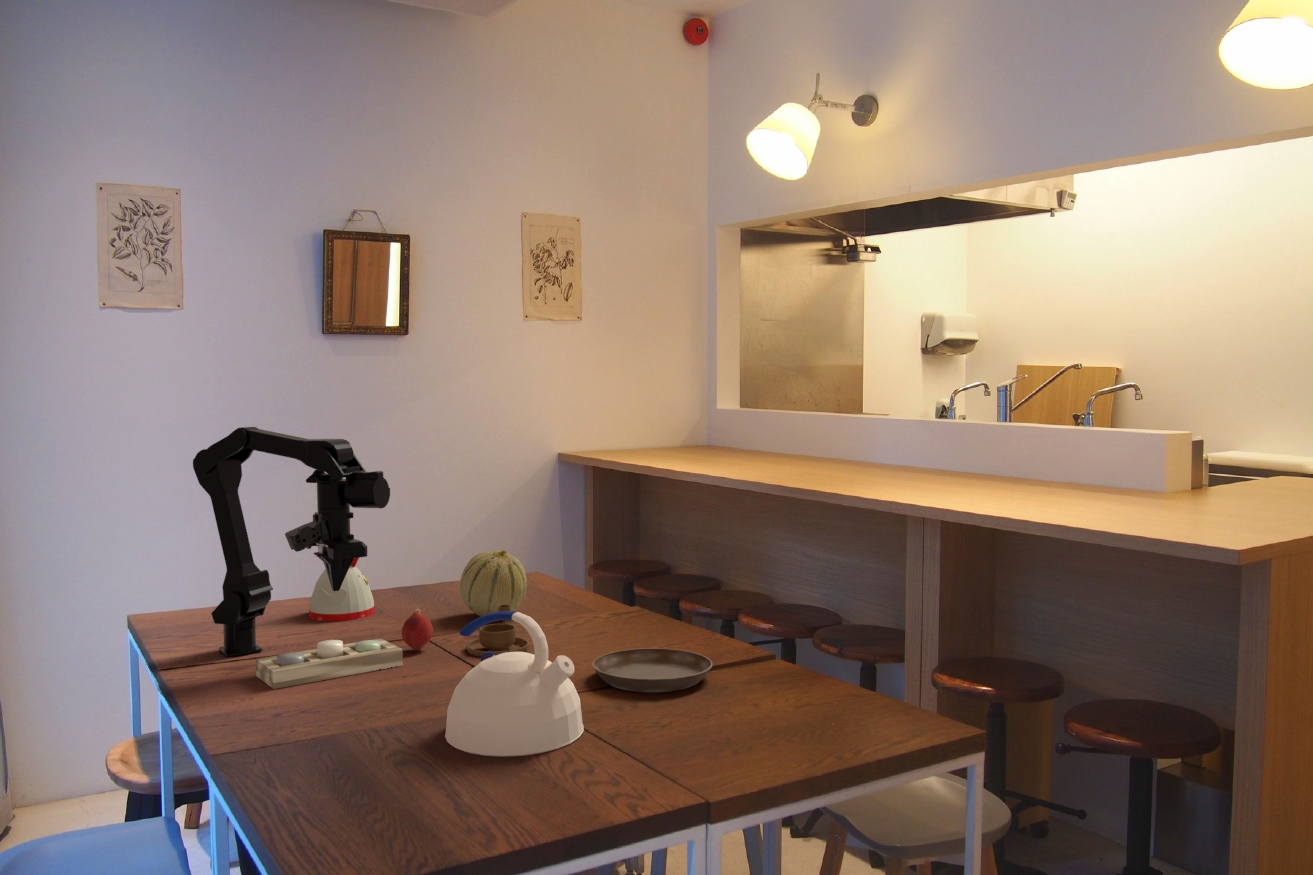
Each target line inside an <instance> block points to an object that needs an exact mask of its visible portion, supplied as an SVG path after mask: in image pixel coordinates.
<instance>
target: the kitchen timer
mask: <svg viewBox="0 0 1313 875" xmlns="http://www.w3.org/2000/svg"><path fill="white" fill-rule="evenodd" d="M359 560H360V557H359V558H354V559H353V561H352V563H351V565H350V567H349V569H348V572H347V574H346V576H345V578H344V581H343V583H342V585H341V588H340V590H339V591H333V590H332V588H331V584H330V581H329V578H328V574H327V571H326V569H324V570H323V571H322V573H321V574H320V576H319V577H318V579H317V581H316V583H315V584H314V589H313V591H312V594H311V598H310V602H309V608H308V610H309V611H308V613H309V615H308V616H309V617H308V618H310V619H311V620H313V619H314V621H318V622H319V621H320V622H345V621H346V622H347V621H353V620H354V619H355V620H359V619H358V618H361V619H364V617H365V618H368V617H370V616H369V615H371V616H373V615H374V614H375V600H374V597H373V593H372V590H371V588H370V584H369V582H368V581H367V578H366V577H365V575H364V574H363V572H361V570H360V569H359V568H358V567H357V564H358V561H359ZM373 613H374V614H373ZM367 616H368V617H367ZM355 620H354V621H355Z"/></svg>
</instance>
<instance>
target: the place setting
mask: <svg viewBox="0 0 1313 875" xmlns="http://www.w3.org/2000/svg"><path fill="white" fill-rule="evenodd" d="M503 611H511V607H510V605H500V606H499V612H503ZM478 631H479V632H478V634H479V635H478V638H479V639H478V638H477V639H476V638H475V639H472V640H471V641H468V642H467V643H466V644H465V646H466V647H465V649H466V651H467V652H468V653H469V654H470V655H472V656H475V657H479V658H481V657H482V655H483V654H485V653H487V652H492V653H494V654H495V656H496V655H499V654H502V653H506V652H527V651H528V649H529V647H530V646H529V645H530V642H529V640H527V639H526V638H522V637H518V636H516V635H517V634H516V633H517V632H516V626H515V625H513V624H511V623H510V624H509V623H508V620H502V623H492V624H491V623H489V624H485V625H483V626H481V627H479V628H478ZM514 643H516V644H514ZM478 645H480V646H482V647H483V648H485V649H486V650H487V651H485V650H484V651H483V650H477V649H474V648H476V646H477V647H479V646H478ZM513 645H519V646H520V647H519V648H514V649H509V648H510V647H512V646H513ZM522 645H523V646H524V647H523V646H522ZM529 653H530V654H534V653H535V649H534V648H533V649H531V650H530V652H529ZM485 658H491V656H490V655H486V657H485Z"/></svg>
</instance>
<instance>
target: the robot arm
mask: <svg viewBox="0 0 1313 875" xmlns="http://www.w3.org/2000/svg"><path fill="white" fill-rule="evenodd" d="M254 451H256V452H260V453H266V454H271V455H275V456H279V457H285V458H290V459H294V460H297V461H299V462H301V464H303V465H305V466H307V467H309V468H311V469H313V472H312V474H310V475H309V476H308V477H307V478H306V479H305V482H306V483H307V484H316V501H317V509H316V510H317V512H314V514H312V521H311V522H308V523H305V524H302V525H300V526H298V527H296V528H293V529H291V530H289V531H287V532H286V533H284V535H285V538H286V541H287V543H288V545H289V548H290V550H293V551H294V552H298V553H299V552H301V551H304V550H305V549H309V550H310V549H312V547H317V552H313V555H314V556H315V557H317V558H318V559H319V560H321V561H322V562H323V565H324V568H325V570H326V571H327V574H328V578H329V581H330V584H331V588H332V590H333V591H339V590H340V588H341V585H342V583H343V581H344V578H345V576H346V574H347V572H348V569H349V567H350V565H351V563H352V561H353V559H354V558H359V559H360V558H366V557H368V545H367V544H366V543H364V541H361V540H360V539H355V535H354V533H351V519H354V512H352V511H350V510H351V508H354V509H384V508H386V507H387V505H388V503H389V502H390V498H391V488H390V487H389V483H388V481H387V479H386V478H385V477H384V471H382V470H376V471H374V470H373V471H366V469H365V468H364V466H363V464H362V463H361V462H360V460H359V458H357V456H356V455H355V453H354V449H353V447H352V444H351V443H350V441H348V440H346V439H343V438H311V439H310V438H307V437H306V438H304V437H300V436H295V435H290V434H285V433H280V432H275V431H272V430H271V431H270V430H264V429H262V428H259V427H257V426H245V427H244V426H243V427H237V428H236V429H235V430H233V431H232V432H230V434H228V435H227V436H225V437H223V438H222V439H219V440H218V441H216V442H215V443H213V444H212V445H210V446H209V447H207V448H206V449H205V448H203V449H201V450H199V451H198V452H197V453H196V455H194V456H195V457H194V458H193V459H192V469H193V471H194V473H195V476H196V479H197V481H198V484H199V485H200V486H201V487H202V489H203V490H204V491H205V493H206V494H208V495H209V498H210V499H211V500H210V501H211V505H212V510H213V514H214V518H215V522H216V527H217V532H218V536H219V541H220V546H221V549H222V554H223V557H224V559H223V560H224V562H225V567H226V572H225V576H224V579H223V583H222V597H223V599H222V601H220V603H219V604H218V605H217V606H216V607H215V608H214V610H213V611H212V612H211V617H212V620H213V623H214V624H216V625H217V624H218V625H223V626H222V627H223V628H222V629H223V646H220V647H218V651H219V652H220V653H222V654H223V655H224V656H225V657H233V656H240V655H246V654H253V653H259V652H262V651H263V648H262V647H260V646H259V645H258V644H257V637H256V635H257V634H256V618H257V617H262V616H263V615H264V614H265V611H266V607H267V605H268V604H269V603H270V601H271V600H272V599H271V598H272V592H271V591H273V590H274V588H273V586H272V584H271V582H270V573H269V571H268V570H267V569H264V570H261V569H260V568H259V567H258V566H257V565H256V563H255V561H254V557H253V553H252V548H251V544H250V540H249V534H248V530H247V526H246V521H245V518H244V513H243V508H242V504H241V500H240V496H239V487H240V485H241V481H242V477H243V469H242V464H244V463H245V462H247V460H249V459H250V457H251V456H252V454H253V452H254ZM350 507H351V508H350Z"/></svg>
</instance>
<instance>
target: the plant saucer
mask: <svg viewBox="0 0 1313 875" xmlns="http://www.w3.org/2000/svg"><path fill="white" fill-rule="evenodd" d="M592 667H593V669H594V671H595V672H596V674H597V676H599V677H600V678H601V680H603V681H604V683H606V684H608V685H609V686H611V687H613V688H615V689H618V690H622V691H627V692H633V693H643V694H644V693H646V694H647V693H649V694H650V693H651V694H653V693H655V694H656V693H669V692H671V693H672V692H677V691H681V690H682V691H683V690H686V689H689V688H691V687H693V686H696V685H697V684H699V682H701V681H702V680H703V679H704V678H705V677H706V676H707V675H708V674H709V672H710V670H711V669H712V667H713V662H712V660H711V659H710V658H708V657H707V656H705V655H702V654H700V653H696V652H692V651H688V650H684V649H683V650H682V649H681V650H680V649H672V648H660V647H659V648H657V647H655V648H652V647H648V648H631V649H624V650H617V651H613V652H608V653H606V654H605V653H604V654H603V655H599V656H597V658H595V659H594V660H593V661H592Z"/></svg>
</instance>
